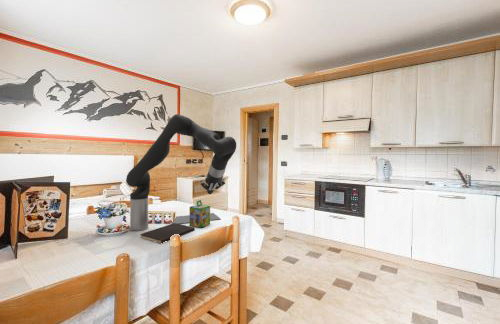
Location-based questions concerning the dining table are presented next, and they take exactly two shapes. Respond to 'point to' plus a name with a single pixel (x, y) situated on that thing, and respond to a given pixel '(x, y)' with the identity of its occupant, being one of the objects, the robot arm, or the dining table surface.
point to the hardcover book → (167, 232)
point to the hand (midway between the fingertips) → (209, 192)
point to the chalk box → (199, 215)
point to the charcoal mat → (187, 219)
